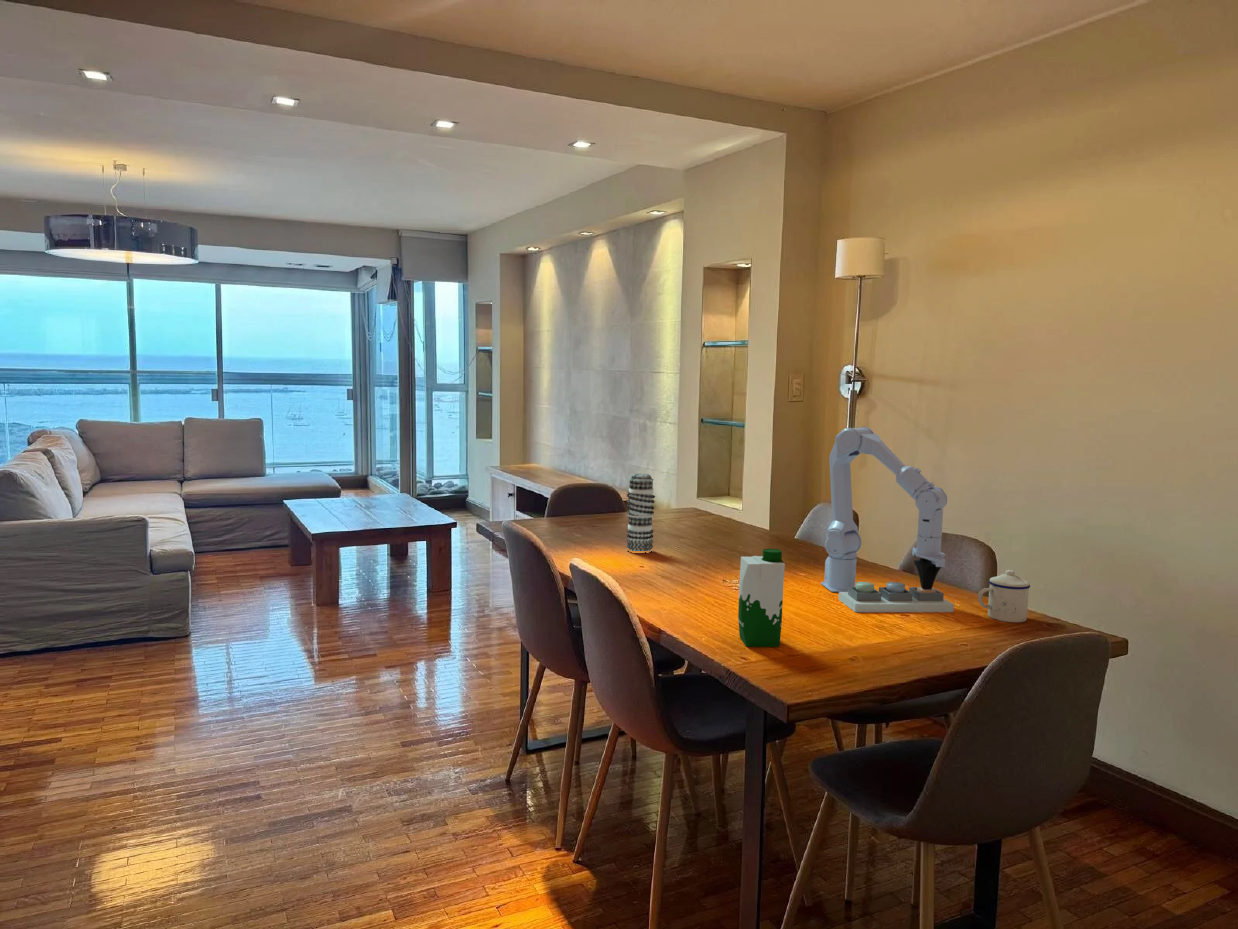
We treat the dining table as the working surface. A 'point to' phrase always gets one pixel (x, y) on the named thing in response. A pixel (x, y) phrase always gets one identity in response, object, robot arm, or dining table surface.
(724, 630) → the dining table surface
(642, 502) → the decorative candle
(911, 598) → the button console
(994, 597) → the teacup with lid
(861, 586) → the sage button
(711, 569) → the dining table surface
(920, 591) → the terracotta button
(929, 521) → the robot arm
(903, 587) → the dusty blue button
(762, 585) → the milk carton
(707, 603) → the dining table surface
